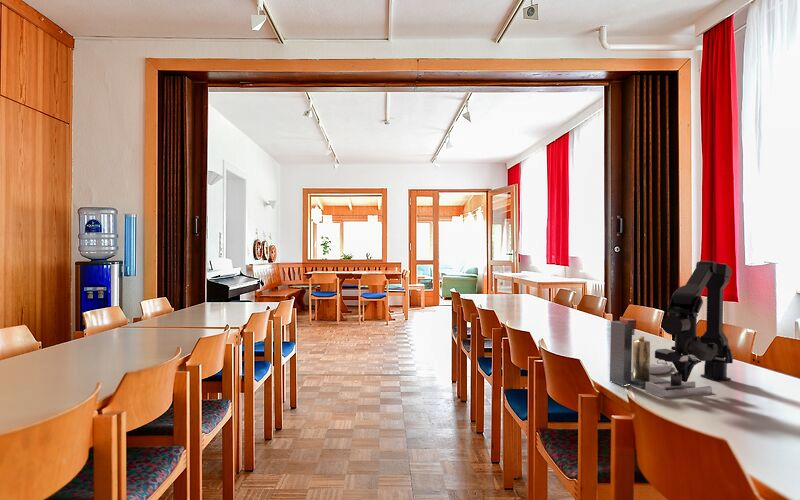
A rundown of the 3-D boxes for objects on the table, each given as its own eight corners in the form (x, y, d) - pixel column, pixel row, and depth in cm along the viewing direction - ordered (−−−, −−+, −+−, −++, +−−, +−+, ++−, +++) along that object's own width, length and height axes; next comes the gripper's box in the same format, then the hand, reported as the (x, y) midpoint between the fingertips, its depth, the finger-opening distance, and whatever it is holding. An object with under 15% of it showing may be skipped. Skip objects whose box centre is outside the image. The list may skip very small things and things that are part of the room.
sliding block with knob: (675, 390, 148) (675, 371, 148) (683, 393, 145) (684, 373, 145) (655, 392, 145) (655, 373, 145) (663, 395, 143) (664, 375, 143)
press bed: (640, 375, 164) (642, 315, 164) (670, 385, 153) (671, 321, 153) (603, 378, 160) (604, 316, 159) (630, 389, 148) (632, 322, 148)
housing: (649, 376, 158) (649, 336, 158) (649, 379, 154) (650, 338, 154) (632, 374, 160) (633, 334, 160) (632, 377, 156) (633, 337, 156)
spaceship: (650, 378, 161) (650, 365, 161) (632, 373, 167) (632, 361, 167) (683, 369, 175) (683, 357, 175) (665, 365, 180) (665, 353, 180)
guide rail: (693, 386, 152) (693, 377, 152) (711, 392, 146) (711, 383, 146) (645, 391, 146) (645, 381, 146) (662, 397, 140) (662, 387, 140)
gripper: (685, 337, 136) (684, 391, 136) (733, 335, 142) (731, 387, 142) (653, 331, 147) (652, 381, 147) (699, 328, 153) (698, 377, 153)
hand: (684, 381), depth 147 cm, fingers closed
